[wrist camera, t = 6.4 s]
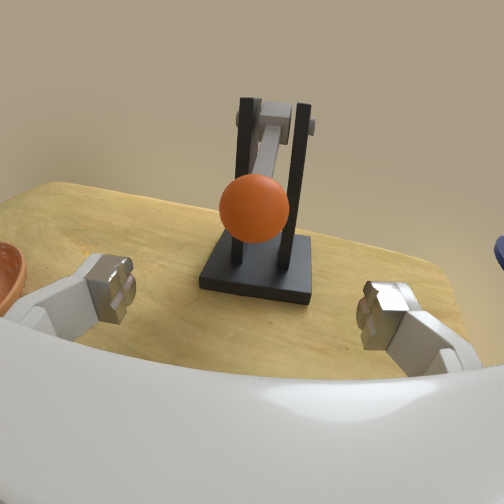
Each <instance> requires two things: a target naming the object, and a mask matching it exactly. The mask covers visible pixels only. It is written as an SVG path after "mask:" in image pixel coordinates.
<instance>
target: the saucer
mask: <svg viewBox="0 0 504 504" xmlns="http://www.w3.org/2000/svg"><path fill="white" fill-rule="evenodd" d="M26 273H27V271H26V264H25V259H24V256H23V254H22V252H21V250H20V249H19V248H17V247H16V246H14V245H13V244H10V243H7V242H2V241H0V317H3V316H4V315H5V314H6V312H7V311H8V310H9V309H10V308H11V306H12V305H13V304H14V303H15V302H16V301H17V299H19V298H20V296H21V293H22V290H23V288H24V285H25V281H26Z"/></svg>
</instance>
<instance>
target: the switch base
mask: <svg viewBox="0 0 504 504" xmlns="http://www.w3.org/2000/svg"><path fill="white" fill-rule="evenodd" d="M261 102H262V99H261V98H240V107H239V111H238V112H237V115H236V126H237V127H238V136H237V153H236V154H237V155H236V169H235V179H237V178H239V177H241V176H244V175H248V174H252V171H253V168H254V164H255V161H256V158H257V151H258V138H259V115H260V112H261ZM310 113H311V105H310V104H307V103H300V102H298V103H297V109H296V118H295V128H294V137H293V146H292V155H291V164H290V172H289V180H288V188H287V198H288V202H289V215H288V220H287V222H286V224H285V226H284V228H283V229H282V232H280V233H279V234H278V235H276V236H275V237H274V238H272V239H270V240H268V241H266V242H262V243H246V242H243V241H240V240H238V239H236V238H235V237H233V236H232V235H231V234H230V233H229V232H228V231H227V230H226V228H225V230H224V232H223V234H222V235H221V237H220V239H219V241H218V243H217V245H216V246H215V248H214V250H213V252H212V254H211V256H210V257H209V259H208V261H207V263H206V265H205V267H204V269H203V270H202V272H201V274H200V276H199V287H200V288H203V289H208V290H214V291H220V292H226V293H232V294H238V295H245V296H251V297H257V298H264V299H271V300H277V301H284V302H291V303H299V304H306V305H309V303H310V299H311V295H312V283H311V243H310V236H304V235H298V234H294V233H295V226H296V219H297V213H298V205H299V199H300V192H301V185H302V178H303V170H304V162H305V154H306V147H307V138H308V135H312V136H313V135H314V130H315V119H314V118H310Z"/></svg>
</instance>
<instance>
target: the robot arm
mask: <svg viewBox="0 0 504 504" xmlns="http://www.w3.org/2000/svg"><path fill="white" fill-rule="evenodd" d="M132 269H133V265H132V260H131V259H130V258H129V257H122V256H115V255H108V254H100V253H92V254H91V255H90V256H89V257H88V258H87V259H86V260H85V261H84V262H83V264H82V265H81V266H80V267H79V268H78V269H77V270H76V271H75V273H74V274H73V275H72V276H67V277H64V278H62V279H60V280H58V281H55V282H53V283H51V284H49V285H47V286H45V287H42V288H40V289H38V290H36V291H34V292H32V293H30V294H27V295H25V296H23V297H21V298H19V299H17V301H16V302H15V303H14V304H13V305H12V306H11V308H10V309H9V310H8V311H7V312H6V314H5V315H4V316H3V317H0V504H504V364H502V365H497V366H492V367H486V368H483V366H482V364H481V362H480V360H479V358H478V356H477V354H476V352H475V350H474V348H473V346H472V345H471V344H469V343H468V342H467V341H465V340H464V339H463V338H462V337H460V336H459V335H458V334H456V333H455V332H454V331H452V330H451V329H450V328H448V327H447V326H446V325H444V324H443V323H442V322H440V321H439V320H437V319H436V318H435V317H433V316H432V315H431V314H429V313H428V312H426V311H422V309H421V307H420V305H419V303H418V301H417V300H416V298H415V296H414V294H413V292H412V290H411V289H410V287H409V285H408V284H407V283H405V282H379V281H367V282H366V284H365V286H364V289H363V292H364V295H365V297H363V298H362V299H361V300H360V301H359V304H358V307H357V313H356V320H357V325H358V327H359V328H360V329H361V330H362V333H361V340H362V343H363V347H364V350H383V351H386V352H387V353H388V354H389V356H390V357H391V358H392V359H393V360H394V361H395V362H396V363H397V364H398V366H399V367H400V368H401V369H402V370H403V371H404V372H405V374H406V375H407V376H408V377H405V378H390V379H367V380H317V379H292V378H276V377H262V376H251V375H241V374H231V373H223V372H215V371H207V370H200V369H193V368H187V367H181V366H175V365H169V364H163V363H158V362H153V361H148V360H143V359H138V358H134V357H129V356H125V355H120V354H116V353H112V352H108V351H104V350H100V349H96V348H92V347H89V346H85V345H81V344H78V343H74V342H73V341H74V340H75V339H77V338H78V337H80V336H81V335H82V334H84V333H85V332H86V331H88V330H89V329H91V328H92V327H93V326H95V325H96V324H97V323H99V321H102V322H107V323H112V324H118V325H120V323H121V322H122V320H123V318H124V316H125V314H126V313H127V311H126V307H127V306H129V305H130V304H132V302H133V300H134V298H135V294H136V281H135V278H134V277H133V276H132V274H131V271H132Z"/></svg>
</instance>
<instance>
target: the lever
mask: <svg viewBox="0 0 504 504" xmlns="http://www.w3.org/2000/svg"><path fill="white" fill-rule="evenodd" d="M291 112H292V104H289V103H280V102H270V101H265V102H264V105H263V107H262V110H261V112H260V115H259V142H261V144H260V148H259V151H258V154H257V158H256V161H255V164H254V168H253V171H252V174H248V175H244V176H241V177H239V178H237V179H235V180H234V181H232V182H231V183H230V184H229V185H228V186H227V188H226V189H225V191H224V192H223V194H222V197H221V200H220V205H219V212H220V218H221V221H222V223H223V225H224V227H225V228H226V230H227V231H228V232H229V233H230V234H231V235H232V236H233V237H235V238H236V239H238V240H240V241H243V242H246V243H262V242H266V241H268V240H270V239H272V238H274V237H275V236H276V235H278V234H279V233H280V232H281V231H282V229H283V228H284V226H285V224H286V222H287V220H288V215H289V202H288V198H287V195H286V193H285V191H284V190H283V188H282V187H281V186H280V185H279V184H278V183H277V182H276V181H275V180H273V179H272V177H273V172H274V167H275V162H276V157H277V152H278V147H279V144H283V145H287V144H288V138H289V131H290V123H291V122H290V121H291Z"/></svg>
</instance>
